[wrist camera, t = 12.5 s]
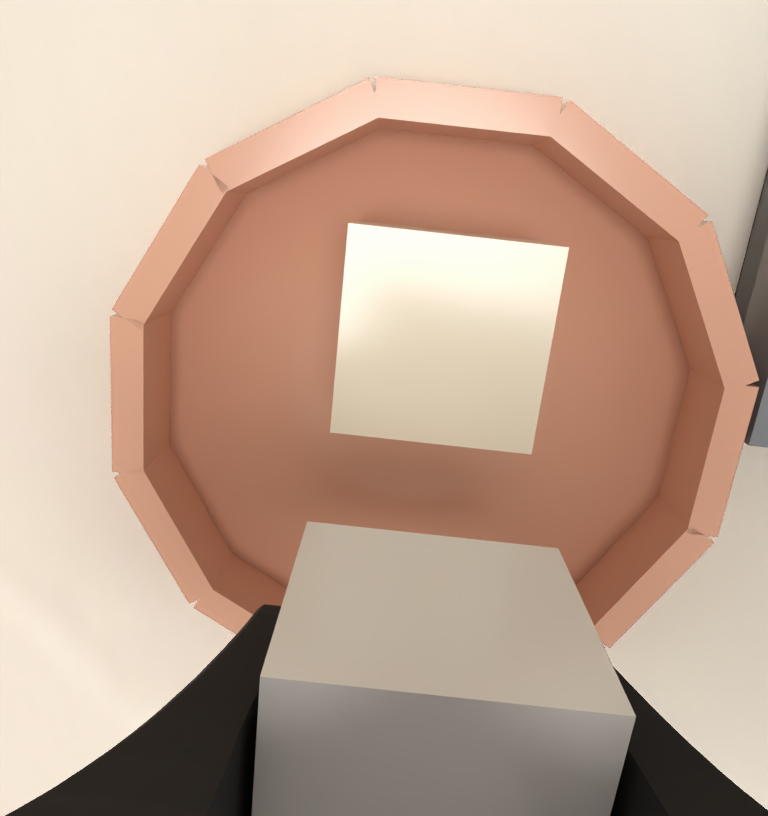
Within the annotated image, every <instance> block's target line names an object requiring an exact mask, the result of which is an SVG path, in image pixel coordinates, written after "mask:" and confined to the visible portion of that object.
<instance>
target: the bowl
mask: <svg viewBox="0 0 768 816" xmlns="http://www.w3.org/2000/svg"><path fill="white" fill-rule="evenodd" d="M562 99H563V97H557V96H548V95H539V94H530V93H521V92H512V91H503V90H494V89H485V88H476V87H467V86H458V85H449V84H440V83H431V82H422V81H413V80H404V79H395V78H386V77H377V79H376V90H375V92H374V90H373V87H372V85H371V82H370V80H369V78H367V79H365V80H363V81H361V82H359V83H357V84H355V85H353V86H351V87H349V88H347V89H345V90H343V91H341V92H339V93H337V94H335V95H333V96H331V97H329V98H327V99H325V100H323V101H321V102H319V103H317V104H315V105H313V106H311V107H309V108H307V109H305V110H303V111H301V112H299V113H297V114H295V115H293V116H291V117H289V118H287V119H285V120H283V121H281V122H279V123H277V124H275V125H273V126H271V127H269V128H267V129H265V130H263V131H261V132H259V133H257V134H255V135H253V136H251V137H249V138H247V139H245V140H243V141H241V142H239V143H237V144H235V145H233V146H231V147H229V148H227V149H225V150H222V151H220V152H218V153H216V154H214V155H212V156H210V157H208V158H206V159H205V161H206V163H207V165H208V167H207V166H203V165H199V166H198V167H197V169H196V171H195V172H194V174H193V176H192V177H191V179H190V180H189V182H188V184H187V185H186V187H185V189H184V190H183V192H182V194H181V195H180V197H179V199H178V200H177V202H176V204H175V205H174V207H173V209H172V210H171V212H170V214H169V215H168V217H167V219H166V220H165V222H164V224H163V225H162V227H161V229H160V230H159V232H158V234H157V235H156V237H155V239H154V240H153V242H152V244H151V245H150V247H149V249H148V250H147V252H146V254H145V255H144V257H143V259H142V260H141V262H140V264H139V265H138V267H137V268H136V270H135V272H134V273H133V275H132V277H131V278H130V280H129V282H128V283H127V285H126V287H125V288H124V290H123V292H122V293H121V295H120V297H119V298H118V300H117V302H116V303H115V305H114V307H113V308H112V310H113V311H114V312H116V313H117V314H115V315H113V316H110V352H111V421H112V472H120V473H119V474H118V475H117V476H116V477H114V479H115V480H116V482H117V484H118V485H119V487H120V489H121V490H122V492H123V494H124V495H125V497H126V499H127V500H128V502H129V504H130V505H131V507H132V509H133V510H134V512H135V514H136V515H137V517H138V519H139V521H140V522H141V524H142V526H143V527H144V529H145V531H146V532H147V534H148V536H149V537H150V539H151V541H152V542H153V544H154V546H155V547H156V549H157V551H158V552H159V554H160V556H161V557H162V559H163V561H164V562H165V564H166V566H167V567H168V569H169V571H170V572H171V574H172V576H173V577H174V579H175V581H176V582H177V584H178V586H179V587H180V589H181V591H182V592H183V594H184V596H185V597H186V599H187V601H188V602H189V603H191V602H194V601H196V600H197V602H196V604H195V606H194V608H195V609H196V610H198V611H199V612H201V613H203V614H204V615H206V616H208V617H209V618H211V619H212V620H214V621H216V622H217V623H219V624H221V625H222V626H224V627H225V628H227V629H229V630H230V631H232V632H234V633H235V634H237V633H238V632H239V631H240V630H241V629H242V628H243V626H244V625H245V624H246V623H247V622H248V620H249V619H250V618H251V617H252V615H253V614H254V613H255V612H256V610H257V609H258V608H260V607H261V606H262V605H264V604H266V605H276V606H282V603H283V599H284V596H285V593H286V590H287V586H288V583H289V580H290V576H291V573H292V570H293V567H294V563H295V560H296V557H297V554H298V550H299V547H300V544H301V540H302V537H303V534H304V531H305V527H306V524H307V521H309V522H319V523H328V524H337V525H347V526H356V527H365V528H374V529H384V530H393V531H402V532H412V533H421V534H430V535H439V536H449V537H458V538H467V539H477V540H486V541H495V542H504V543H514V544H523V545H532V546H542V547H551V548H558V549H559V551H560V553H561V555H562V557H563V559H564V562H565V564H566V566H567V568H568V570H569V572H570V575H571V577H572V579H573V581H574V583H575V585H576V588H577V590H578V592H579V594H580V596H581V598H582V601H583V603H584V605H585V607H586V609H587V611H588V614H589V616H590V618H591V620H592V622H593V624H594V627H595V629H596V631H597V633H598V635H599V637H600V640H601V642H602V643H603V644H604V645H606V646H607V647H608V648H611V647H612V646H613V644H614V643H615V642H616V641H617V640H618V639H619V638H620V637H621V636H622V635H623V634H624V633H625V632H626V631H627V630H628V629H629V628H630V627H631V626H632V625H633V624H634V623H635V622H636V621H637V620H638V619H639V618H640V617H641V616H642V615H643V614H644V613H645V612H646V611H647V610H648V609H649V608H650V607H651V606H652V605H653V604H654V603H655V602H656V601H657V600H658V599H659V598H660V597H661V596H662V595H663V594H664V593H665V592H666V591H667V590H668V589H669V588H670V587H671V586H672V585H673V584H674V583H675V582H676V581H677V580H678V579H679V578H680V577H681V576H682V575H683V574H684V573H685V572H686V571H687V570H688V569H689V567H690V566H691V565H692V564H693V563H694V562H695V561H696V560H697V559H698V558H699V557H700V556H701V555H702V554H703V553H704V552H705V551H706V550H707V549H708V548H709V547H710V546H711V545H712V544H713V543H714V542H713V541H712V540H711V539H710V538H709V537H708V536H713V537H718V533H719V529H720V526H721V522H722V519H723V515H724V511H725V508H726V504H727V501H728V497H729V493H730V490H731V486H732V483H733V479H734V476H735V472H736V468H737V465H738V461H739V458H740V454H741V450H742V447H743V443H744V440H745V436H746V433H747V429H748V425H749V422H750V418H751V415H752V411H753V407H754V404H755V400H756V397H757V393H758V389H759V387H758V386H756V385H754V384H752V383H753V382H756V381H759V378H758V375H757V371H756V368H755V364H754V361H753V358H752V354H751V351H750V348H749V344H748V341H747V337H746V334H745V331H744V327H743V324H742V321H741V317H740V314H739V310H738V307H737V304H736V300H735V297H734V294H733V290H732V287H731V284H730V280H729V277H728V273H727V270H726V267H725V263H724V260H723V257H722V253H721V250H720V246H719V243H718V240H717V236H716V233H715V230H714V226H713V223H712V221H703V220H704V219H705V218H706V216H707V215H708V214H706V213H705V212H704V211H703V210H702V209H700V208H699V207H698V206H697V205H696V204H694V203H693V202H692V201H691V200H690V199H688V198H687V197H686V196H685V195H684V194H682V193H681V192H680V191H679V190H678V189H676V188H675V187H674V186H673V185H671V184H670V183H669V182H668V181H667V180H665V179H664V178H663V177H662V176H661V175H659V174H658V173H657V172H656V171H655V170H653V169H652V168H651V167H650V166H649V165H647V164H646V163H645V162H644V161H643V160H641V159H640V158H639V157H638V156H637V155H635V154H634V153H633V152H632V151H631V150H629V149H628V148H627V147H626V146H625V145H623V144H622V143H621V142H620V141H619V140H617V139H616V138H615V137H614V136H613V135H611V134H610V133H609V132H608V131H607V130H605V129H604V128H603V127H602V126H601V125H599V124H598V123H597V122H596V121H595V120H593V119H592V118H591V117H590V116H589V115H587V114H586V113H585V112H584V111H583V110H581V109H580V108H579V107H578V106H577V105H575V104H574V103H573V102H572V101H571V100H570V101H568V102H567V103H565V104H564V105H562ZM561 105H562V106H561ZM359 220H363V221H373V222H382V223H391V224H400V225H409V226H418V227H427V228H436V229H445V230H454V231H463V232H472V233H481V234H490V235H499V236H508V237H517V238H526V239H533V240H538V241H542V242H547V243H551V244H556V245H560V246H565V247H569V251H568V256H567V262H566V267H565V273H564V278H563V284H562V289H561V295H560V300H559V306H558V311H557V317H556V322H555V328H554V333H553V339H552V344H551V350H550V355H549V361H548V366H547V372H546V377H545V383H544V388H543V394H542V399H541V405H540V410H539V416H538V421H537V427H536V432H535V438H534V443H533V449H532V454H523V453H514V452H504V451H495V450H486V449H477V448H468V447H459V446H449V445H440V444H431V443H422V442H413V441H404V440H395V439H385V438H376V437H367V436H358V435H349V434H340V433H330V426H331V415H332V403H333V392H334V380H335V369H336V357H337V346H338V334H339V323H340V312H341V300H342V289H343V277H344V266H345V254H346V243H347V231H348V223H350V222H355V221H359Z"/></svg>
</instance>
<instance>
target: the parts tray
mask: <svg viewBox="0 0 768 816" xmlns="http://www.w3.org/2000/svg"><path fill="white" fill-rule="evenodd" d="M735 300H736V304H737V307H738V310H739V314H740V317H741V321H742V324H743V327H744V331H745V334H746V337H747V341H748V344H749V348H750V351H751V354H752V358H753V361H754V364H755V368H756V371H757V375H758V378H759V381H756V382H753V383H752V384H754V385H756V386H758V387H759V389H758V393H757V397H756V400H755V404H754V407H753V411H752V415H751V418H750V422H749V425H748V429H747V433H746V436H745V440H744V442H745V443H746V444H748V445H750V446H760V447H768V171H767V175H766V179H765V182H764V186H763V190H762V194H761V198H760V202H759V206H758V210H757V214H756V217H755V221H754V225H753V229H752V233H751V237H750V241H749V245H748V248H747V252H746V256H745V260H744V264H743V268H742V272H741V276H740V280H739V283H738V287H737V291H736V295H735Z"/></svg>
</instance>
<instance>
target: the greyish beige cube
mask: <svg viewBox="0 0 768 816" xmlns="http://www.w3.org/2000/svg"><path fill="white" fill-rule="evenodd" d="M635 719H636V715H635V713H634V711H633V709H632V707H631V704H630V702H629V700H628V698H627V696H626V694H625V691H624V689H623V687H622V685H621V683H620V681H619V678H618V676H617V674H616V672H615V670H614V668H613V665H612V663H611V661H610V659H609V657H608V655H607V652H606V650H605V648H604V646H603V644H602V642H601V640H600V637H599V635H598V633H597V631H596V629H595V627H594V624H593V622H592V620H591V618H590V616H589V614H588V611H587V609H586V607H585V605H584V603H583V601H582V598H581V596H580V594H579V592H578V590H577V588H576V585H575V583H574V581H573V579H572V577H571V575H570V572H569V570H568V568H567V566H566V564H565V562H564V559H563V557H562V555H561V553H560V551H559V549H558V548H551V547H542V546H532V545H523V544H514V543H504V542H495V541H486V540H477V539H467V538H458V537H449V536H439V535H430V534H421V533H412V532H402V531H393V530H384V529H374V528H365V527H356V526H347V525H337V524H328V523H319V522H309V521H307V524H306V527H305V531H304V534H303V537H302V540H301V544H300V547H299V550H298V554H297V557H296V560H295V563H294V567H293V570H292V573H291V576H290V580H289V583H288V586H287V590H286V593H285V596H284V599H283V603H282V606H281V609H280V613H279V616H278V619H277V622H276V626H275V629H274V632H273V635H272V639H271V642H270V645H269V649H268V652H267V655H266V658H265V662H264V665H263V668H262V672H261V675H260V685H259V701H258V717H257V734H256V750H255V767H254V783H253V800H252V816H610V814H611V810H612V806H613V803H614V799H615V795H616V791H617V787H618V784H619V780H620V776H621V772H622V768H623V765H624V761H625V757H626V753H627V749H628V745H629V742H630V738H631V734H632V730H633V726H634V723H635Z"/></svg>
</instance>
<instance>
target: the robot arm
mask: <svg viewBox="0 0 768 816" xmlns="http://www.w3.org/2000/svg"><path fill="white" fill-rule="evenodd" d="M280 609H281V606H276V605H266V604H264V605H262V606H261V607H260V608H258V609H257V610H256V612H255V613H254V614H253V615H252V617H251V618H250V619H249V620H248V622H247V623H246V624H245V625H244V626H243V628H242V629H241V630H240V631H239V632H238V633H237V634H236V636H235V637H234V638H233V639H232V640H231V641H230V642H229V643H228V644H227V646H226V647H225V648H224V649H223V650H222V651H221V652H220V653H219V654H218V655H217V656H216V657H215V658H214V659H213V660H212V661H211V662H210V663H209V664H208V665H207V666H206V668H205V669H204V670H203V671H202V672H201V673H200V674H199V675H198V676H197V677H196V678H195V679H194V680H193V681H191V682H190V683H189V684H188V685H187V686H186V687H185V688H184V689H183V690H182V691H181V692H179V693H178V694H177V695H176V696H175V697H174V698H173V699H172V700H171V701H170V702H168V703H167V704H166V705H165V706H164V707H163V708H162V709H161V710H160V711H158V712H157V713H156V714H155V715H154V716H152V717H151V718H150V719H149V720H148V721H147V722H145V723H144V724H143V725H142V726H140V727H139V728H138V729H137V730H135V731H134V732H133V733H132V734H130V735H129V736H128V737H126V738H125V739H124V740H122V741H121V742H120V743H118V744H117V745H116V746H115V747H113V748H112V749H110V750H109V751H108V752H106V753H105V754H103V755H102V756H101V757H99V758H98V759H96V760H95V761H93V762H92V763H90V764H89V765H88V766H86V767H85V768H83V769H82V770H80V771H79V772H77V773H76V774H74V775H72V776H71V777H69V778H68V779H66V780H65V781H63V782H62V783H60V784H59V785H57V786H56V787H54V788H53V789H51V790H49V791H48V792H46V793H44V794H43V795H41V796H39V797H37V798H36V799H34V800H32V801H30V802H29V803H27V804H25V805H24V806H22V807H20V808H18V809H17V810H15V811H13V812H11V813H9V814H7V815H6V816H252V800H253V783H254V767H255V750H256V734H257V717H258V701H259V685H260V675H261V672H262V668H263V665H264V662H265V658H266V655H267V652H268V649H269V645H270V642H271V639H272V635H273V632H274V629H275V626H276V622H277V619H278V616H279V613H280ZM613 668H614V667H613ZM614 670H615V672H616V674H617V676H618V678H619V681H620V683H621V685H622V687H623V689H624V691H625V694H626V696H627V698H628V700H629V702H630V704H631V707H632V709H633V711H634V713H635V715H636V719H635V723H634V726H633V730H632V734H631V738H630V742H629V745H628V749H627V753H626V757H625V761H624V765H623V768H622V772H621V776H620V780H619V784H618V787H617V791H616V795H615V799H614V803H613V806H612V810H611V814H610V816H768V810H767V809H765V808H764V807H763V806H762V805H760V804H759V803H758V802H757V801H755V800H754V799H753V798H752V797H750V796H749V795H748V794H747V793H745V792H744V791H743V790H742V789H740V788H739V787H738V786H737V785H736V784H734V783H733V782H732V781H731V780H730V779H729V778H727V777H726V776H725V775H724V774H723V773H722V772H720V771H719V770H718V769H717V768H716V767H715V766H714V765H713V764H712V763H710V762H709V761H708V760H707V759H706V758H705V757H704V756H703V755H702V754H701V753H699V752H698V751H697V750H696V749H695V748H694V747H693V746H692V745H691V744H690V743H688V742H687V741H686V740H685V739H684V738H683V737H682V736H681V735H680V734H679V733H678V732H677V731H676V730H675V729H674V728H673V727H672V726H671V725H670V724H669V723H668V722H667V721H666V720H665V719H664V718H663V717H662V716H661V715H660V714H659V713H658V712H657V711H656V710H655V709H654V708H653V707H652V706H651V705H650V704H649V703H648V702H647V701H646V700H645V699H644V698H643V697H642V696H641V695H640V694H639V693H638V692H637V691H636V690H635V689H634V688H633V687H632V686H631V685H630V684H629V683H628V682H627V681H626V679H625V678H624V677H623V676H622V675H621V674H620V673H619V672H618V671H617V670H616V669H615V668H614Z"/></svg>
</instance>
